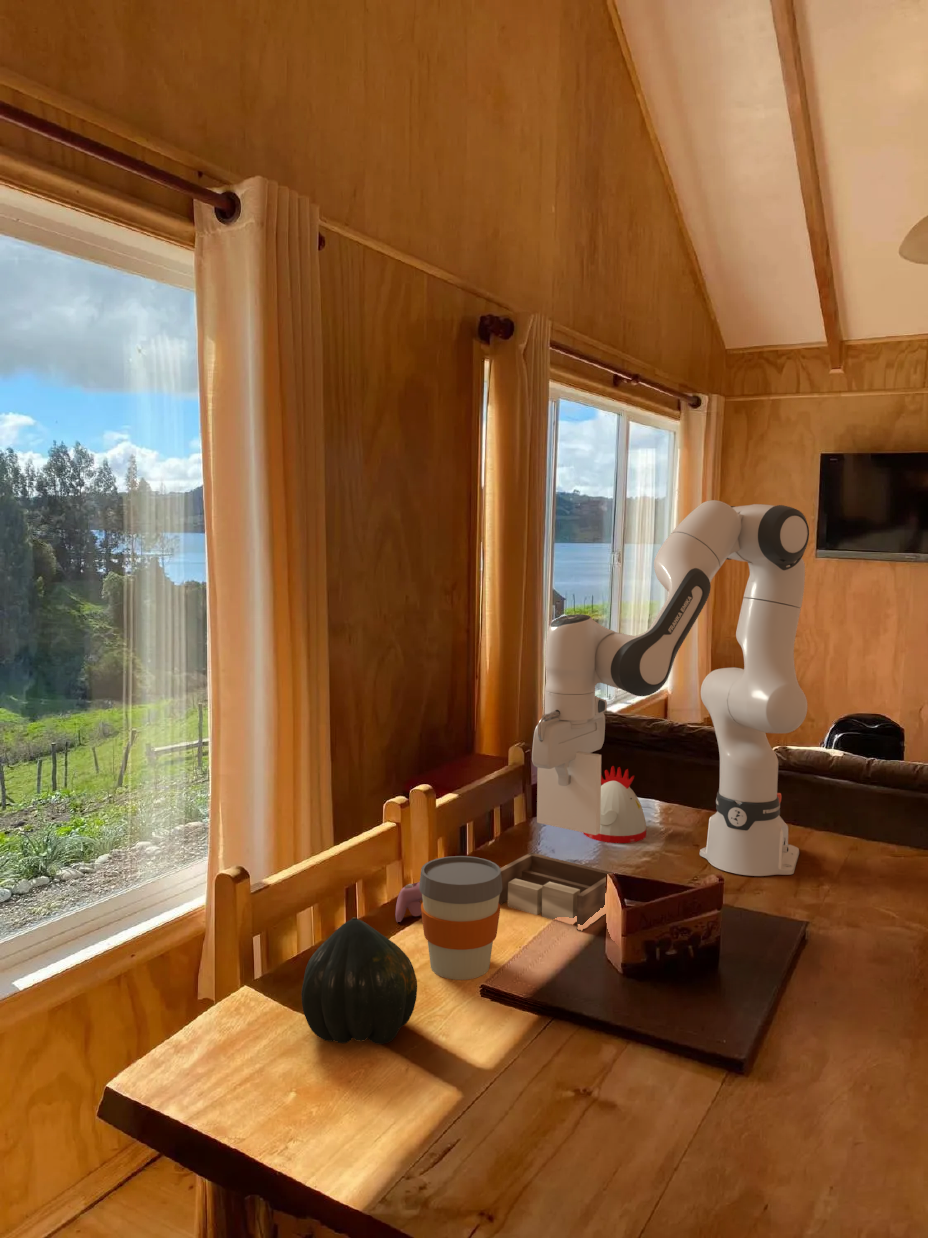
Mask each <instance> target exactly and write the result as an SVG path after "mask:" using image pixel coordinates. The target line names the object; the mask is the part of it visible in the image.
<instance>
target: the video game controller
mask: <svg viewBox="0 0 928 1238" xmlns="http://www.w3.org/2000/svg"><path fill="white" fill-rule="evenodd" d="M419 884H420V881H419V882H415V883H414V882H413V883H409V884H406V885H405V886H404V887H402V888H401V890H400V891H399V893H398V895H397V900H396V905H395V915H394V916H395V921H396V923H398V922H400V923H401V922H402V921H403V919H404V916H405V914H406V910H407V909H408V910H409V912H410V914H411V916H412V917H420V916H422V913H421V904H422V902H421V901H423V899H422V893H421V892H420V890H419Z"/></svg>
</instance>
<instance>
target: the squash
mask: <svg viewBox="0 0 928 1238" xmlns="http://www.w3.org/2000/svg"><path fill="white" fill-rule="evenodd" d="M303 976H304V977H303V982H302V987H301V993H300V994H301V1006H302V1011H303V1015H304V1018H305V1021H306V1022H307V1024H308V1027H309V1029H310V1030H311V1032H312V1033H314V1035H315V1036H317V1038H320V1039H321V1040H324V1041H328V1042H337V1043H338V1044H346V1043H348V1042H350V1041H351V1040H352V1039H353V1040H355V1041H357V1042H363V1041H366V1040H369V1042H371V1043H373V1044H378V1045H384V1044H387V1043H390V1042H392V1041H393V1040H394V1039H395V1038H396V1037H397V1035H398V1033H399V1031H400V1030H401V1028H402V1027H404V1026H405V1025H406V1024H407V1023H408V1022H409V1021H410V1019H411V1017H412V1015H413V1013H414V1010H415V1005H416V1002H417V993H418V980H417V976H416V972H415V968H414V966H413V964H412V961H411V959H410V958H409V957H408V955H407V954H406V953H405V952H404V951H403V949H402V948H401V947H399V946H398V944H396V943H395V942H393V941H392V940H391V939H389V938H388V937H386V936H385V935H383V934H382V933H381V932H379V931H378V930H376V929H375V928H374V927H372V926H370V925H369V924H368V923H366V922H364V921H363V920H361V919H358V917H354V916H353V917H351V919H349V920H348V921H346V922H344V923H343V924H341V926H340V927H339V928H337V929H336V930H335V931H334V932H333V933H332V934H331V935H330V936H329V937H328V938H327V939H326V940H325V941H323V943H322V944H321V945H320V946H318V948H317V949H316V951H314V953H313V954H312V955H311V957H310V958H309V960H308V962H307V965H306V966H305V971H304V975H303Z"/></svg>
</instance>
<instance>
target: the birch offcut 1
mask: <svg viewBox="0 0 928 1238" xmlns="http://www.w3.org/2000/svg"><path fill="white" fill-rule="evenodd" d="M507 908H511V909H514V910H518V911H522V912H525V913H529V914H532V915H534V916H538V915H539V914H542V885H539V884H535V883H531V882H527V881H524V880H520V879H516V878H515V879H513V880H511V881H510V882H508V900H507Z"/></svg>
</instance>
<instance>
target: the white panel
mask: <svg viewBox="0 0 928 1238" xmlns="http://www.w3.org/2000/svg"><path fill="white" fill-rule="evenodd" d="M536 768H537V769H536V770H537V773H536V774H537V778H536V779H537V781H536V782H537V786H536V788H537V789H536V790H537V791H536V794H537V795H536V801H537V802H536V823H537V824H542V825H547V826H550V827H551V826H552V827H555V828H559V829H560V828H561V829H565V830H570V831H575V832H580V833H583V834H584V833H588V834H592V835H597V834H599V833H600V807H601V785H602V784H601V775H602V754H599V753H593V752H591V753H587V752H578V753H576V758H575V759H574V760H572V761H569V767H567V770H568V774H569V775H571V783H570V784H569V785H567V786H561V785H559V784H558V774H557V772H556V770H555V767H554V768H552V769H544V768H539V767H536Z"/></svg>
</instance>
